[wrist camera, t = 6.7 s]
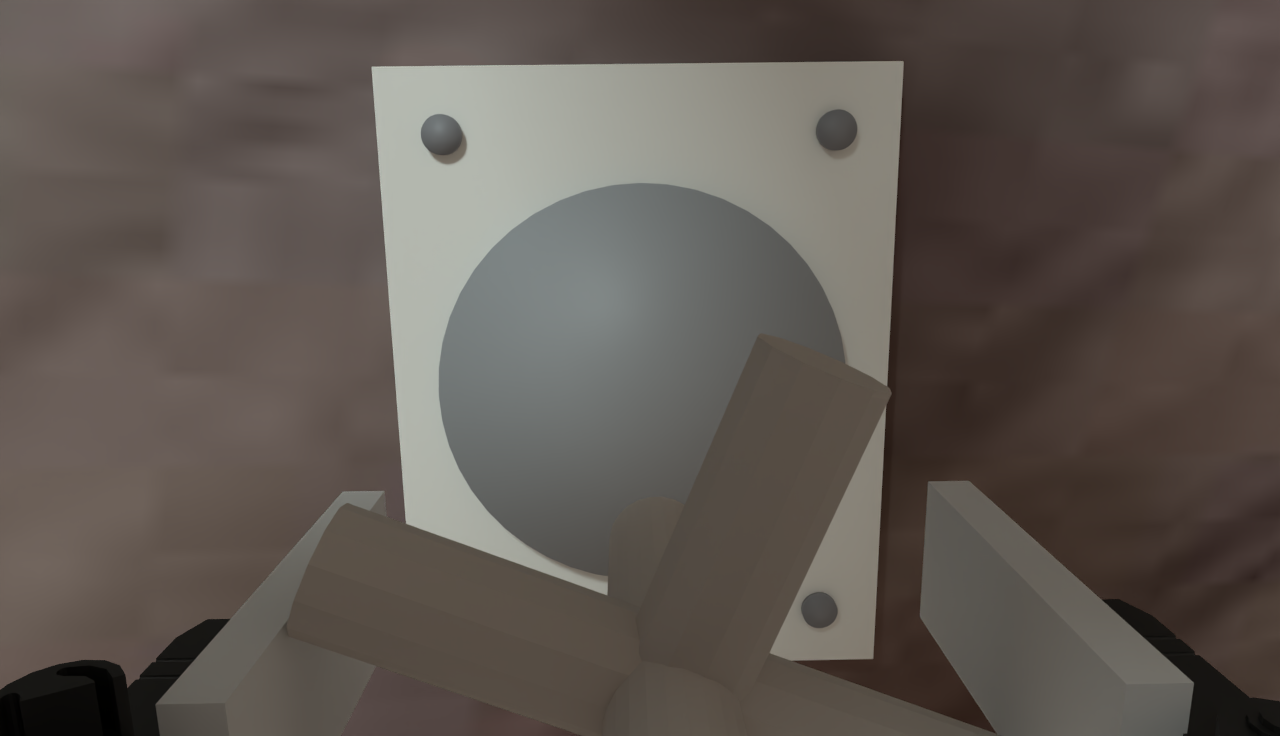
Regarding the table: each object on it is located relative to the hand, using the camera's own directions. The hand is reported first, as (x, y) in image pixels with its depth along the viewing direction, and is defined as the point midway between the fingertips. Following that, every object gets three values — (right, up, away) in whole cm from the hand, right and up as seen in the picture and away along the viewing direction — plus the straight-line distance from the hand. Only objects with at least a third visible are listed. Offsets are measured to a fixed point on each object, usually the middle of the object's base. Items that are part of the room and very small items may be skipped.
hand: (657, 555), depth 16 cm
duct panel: (0, +3, +13) cm, 14 cm away
